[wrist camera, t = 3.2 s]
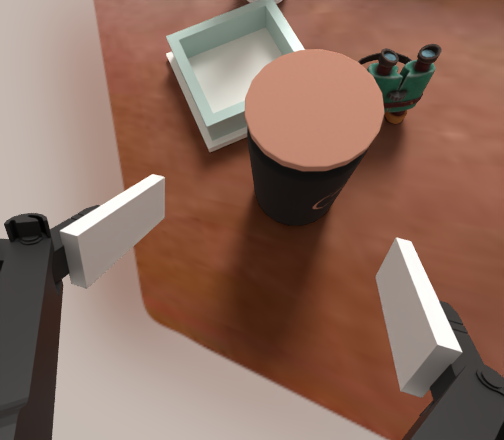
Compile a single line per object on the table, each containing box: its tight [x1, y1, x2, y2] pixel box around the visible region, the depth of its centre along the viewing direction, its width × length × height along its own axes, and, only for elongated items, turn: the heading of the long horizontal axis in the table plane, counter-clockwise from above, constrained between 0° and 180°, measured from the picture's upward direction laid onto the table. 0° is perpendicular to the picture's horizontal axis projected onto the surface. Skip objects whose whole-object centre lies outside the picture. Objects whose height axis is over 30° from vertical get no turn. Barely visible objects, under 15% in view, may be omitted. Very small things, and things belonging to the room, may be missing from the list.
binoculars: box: [358, 44, 441, 124], centre depth 37 cm, size 9×10×10 cm
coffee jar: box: [245, 49, 384, 225], centre depth 30 cm, size 11×11×18 cm
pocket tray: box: [166, 0, 305, 152], centre depth 42 cm, size 19×19×4 cm
